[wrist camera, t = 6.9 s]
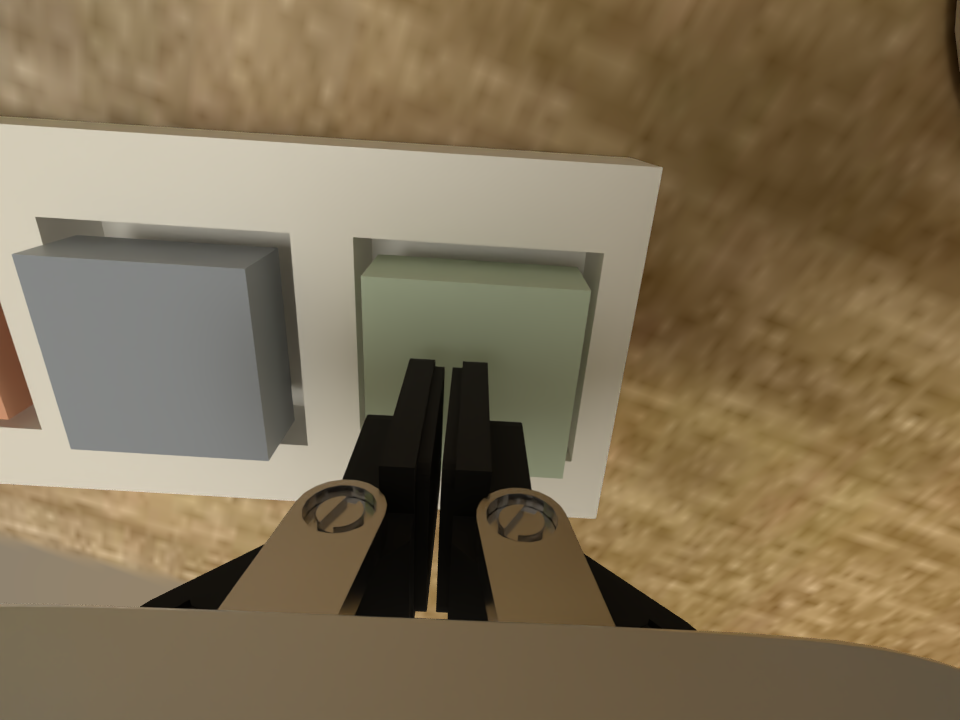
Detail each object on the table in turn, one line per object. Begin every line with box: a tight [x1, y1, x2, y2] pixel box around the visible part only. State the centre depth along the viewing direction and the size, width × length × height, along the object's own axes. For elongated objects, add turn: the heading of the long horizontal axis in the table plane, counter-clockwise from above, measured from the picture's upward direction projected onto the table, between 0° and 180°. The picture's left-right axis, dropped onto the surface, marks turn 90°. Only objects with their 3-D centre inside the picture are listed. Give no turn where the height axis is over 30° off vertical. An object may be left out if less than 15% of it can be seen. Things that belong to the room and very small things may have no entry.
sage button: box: [361, 254, 591, 479], centre depth 14 cm, size 5×5×2 cm
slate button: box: [12, 235, 295, 461], centre depth 14 cm, size 5×5×2 cm
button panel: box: [0, 116, 663, 519], centre depth 15 cm, size 23×10×3 cm, turn 87°
